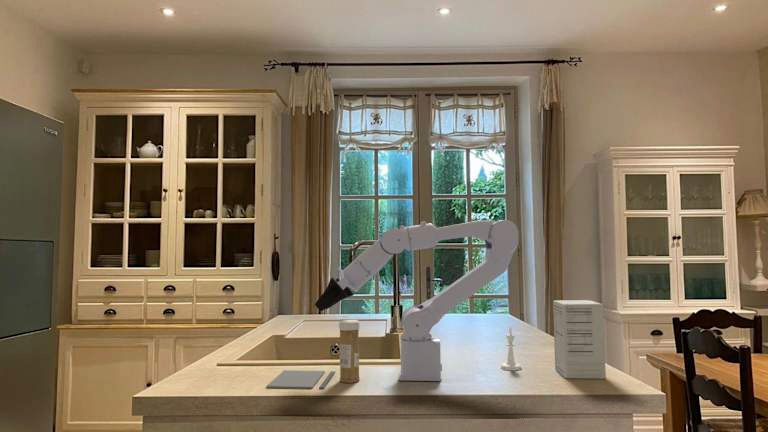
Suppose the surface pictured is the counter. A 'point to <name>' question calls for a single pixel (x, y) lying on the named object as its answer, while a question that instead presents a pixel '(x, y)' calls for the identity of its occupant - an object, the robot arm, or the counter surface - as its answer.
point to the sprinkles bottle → (349, 351)
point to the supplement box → (579, 339)
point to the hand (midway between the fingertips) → (320, 307)
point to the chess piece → (510, 355)
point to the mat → (296, 379)
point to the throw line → (327, 380)
